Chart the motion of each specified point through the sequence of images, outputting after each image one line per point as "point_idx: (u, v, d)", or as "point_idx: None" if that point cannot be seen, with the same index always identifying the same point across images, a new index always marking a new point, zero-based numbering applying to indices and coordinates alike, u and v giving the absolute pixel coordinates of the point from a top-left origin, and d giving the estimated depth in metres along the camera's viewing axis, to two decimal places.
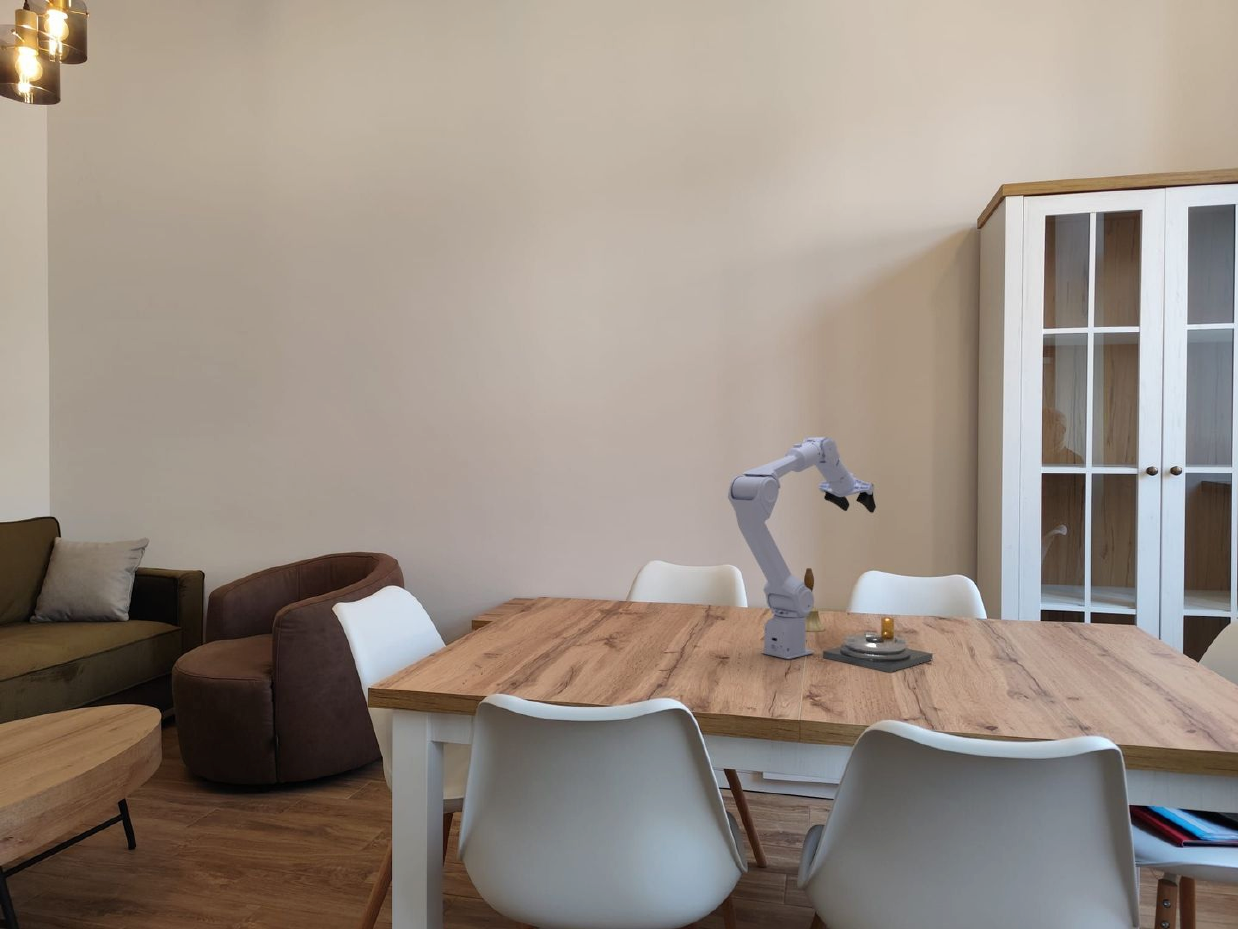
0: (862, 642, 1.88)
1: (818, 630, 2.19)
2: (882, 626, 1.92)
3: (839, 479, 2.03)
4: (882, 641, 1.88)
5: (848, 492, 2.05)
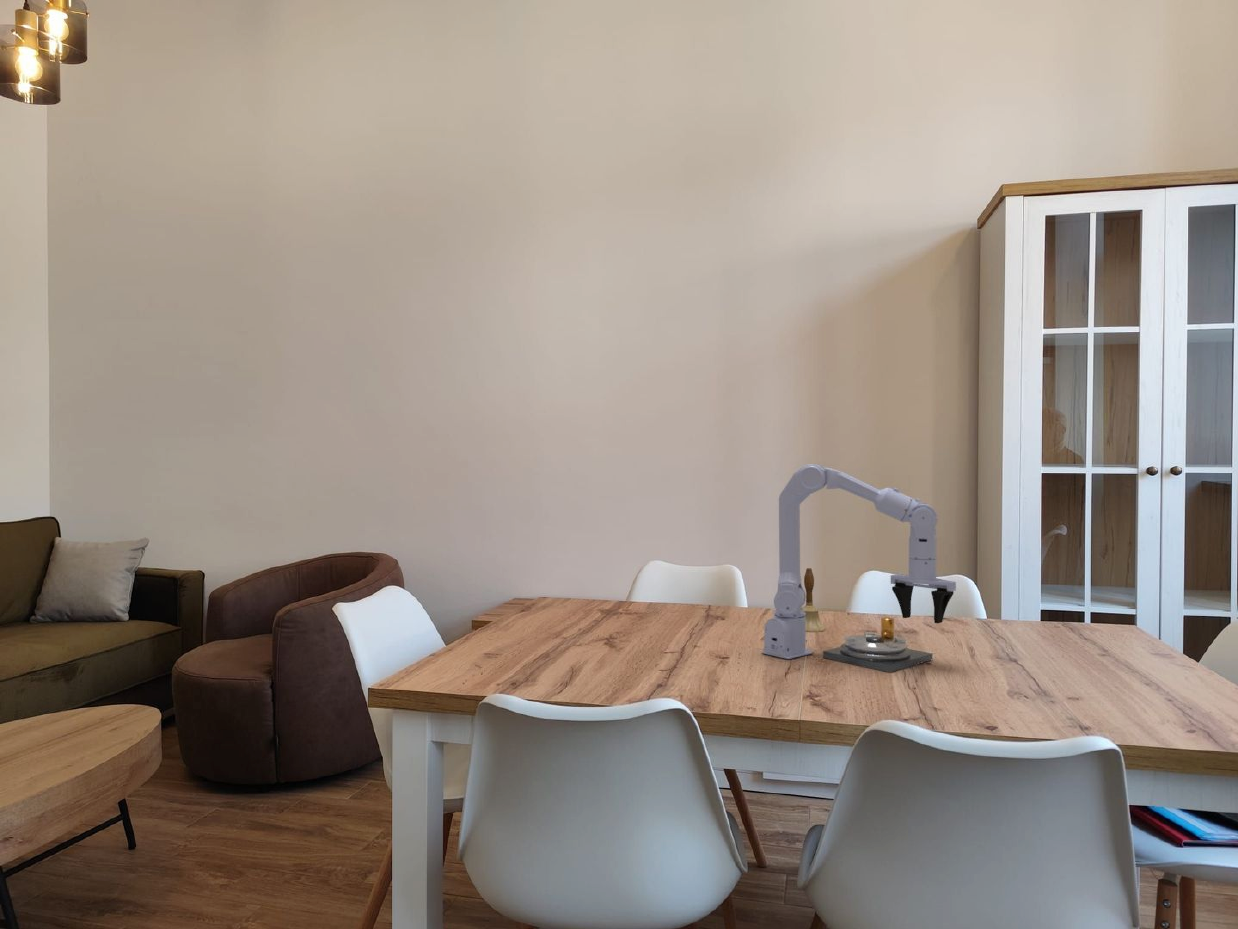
0: (862, 642, 1.88)
1: (818, 630, 2.19)
2: (882, 626, 1.92)
3: (913, 557, 1.85)
4: (882, 641, 1.88)
5: (926, 580, 1.83)
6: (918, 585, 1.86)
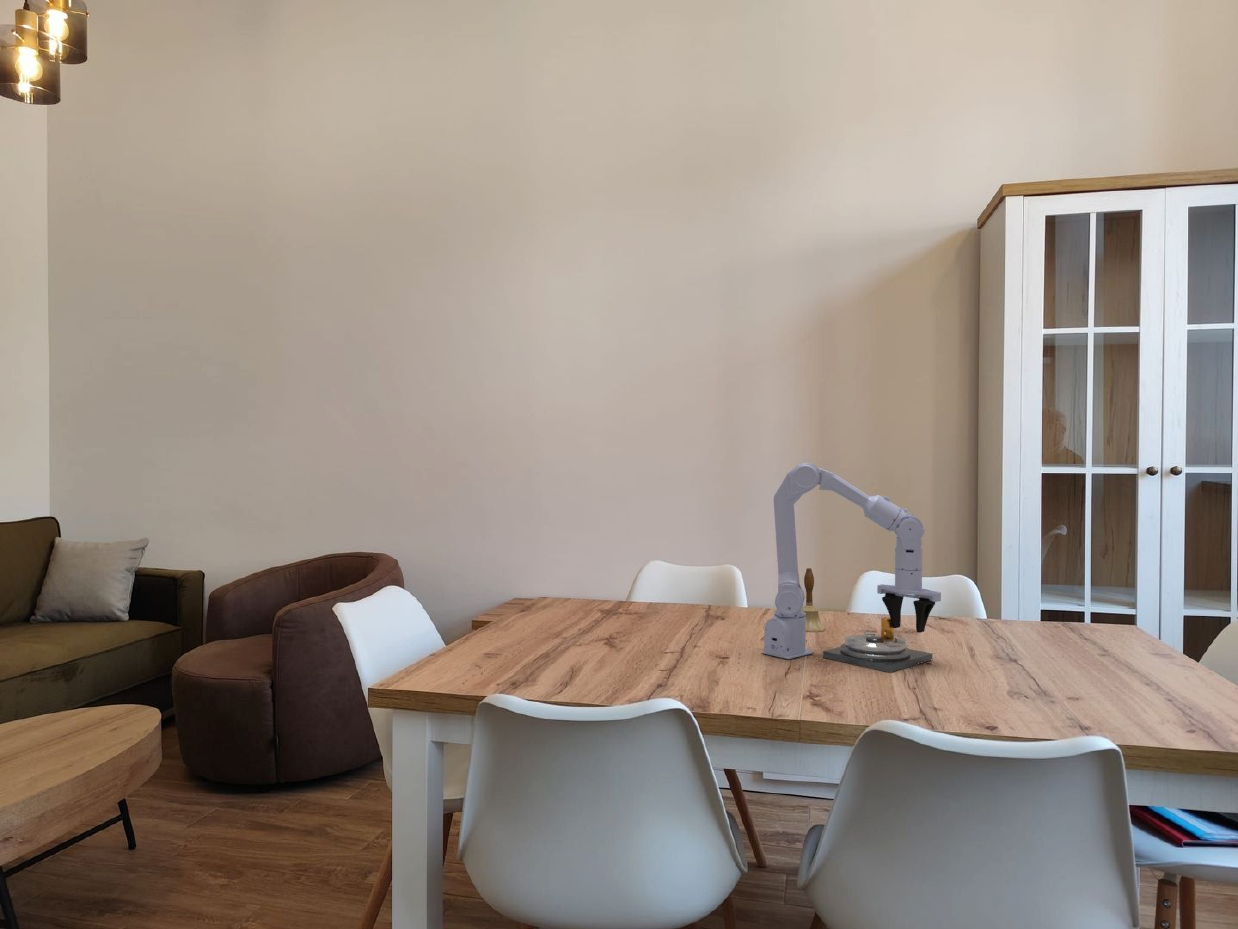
0: (862, 642, 1.88)
1: (818, 630, 2.19)
2: (882, 626, 1.92)
3: (900, 568, 1.87)
4: (882, 641, 1.88)
5: (912, 590, 1.85)
6: (904, 595, 1.89)
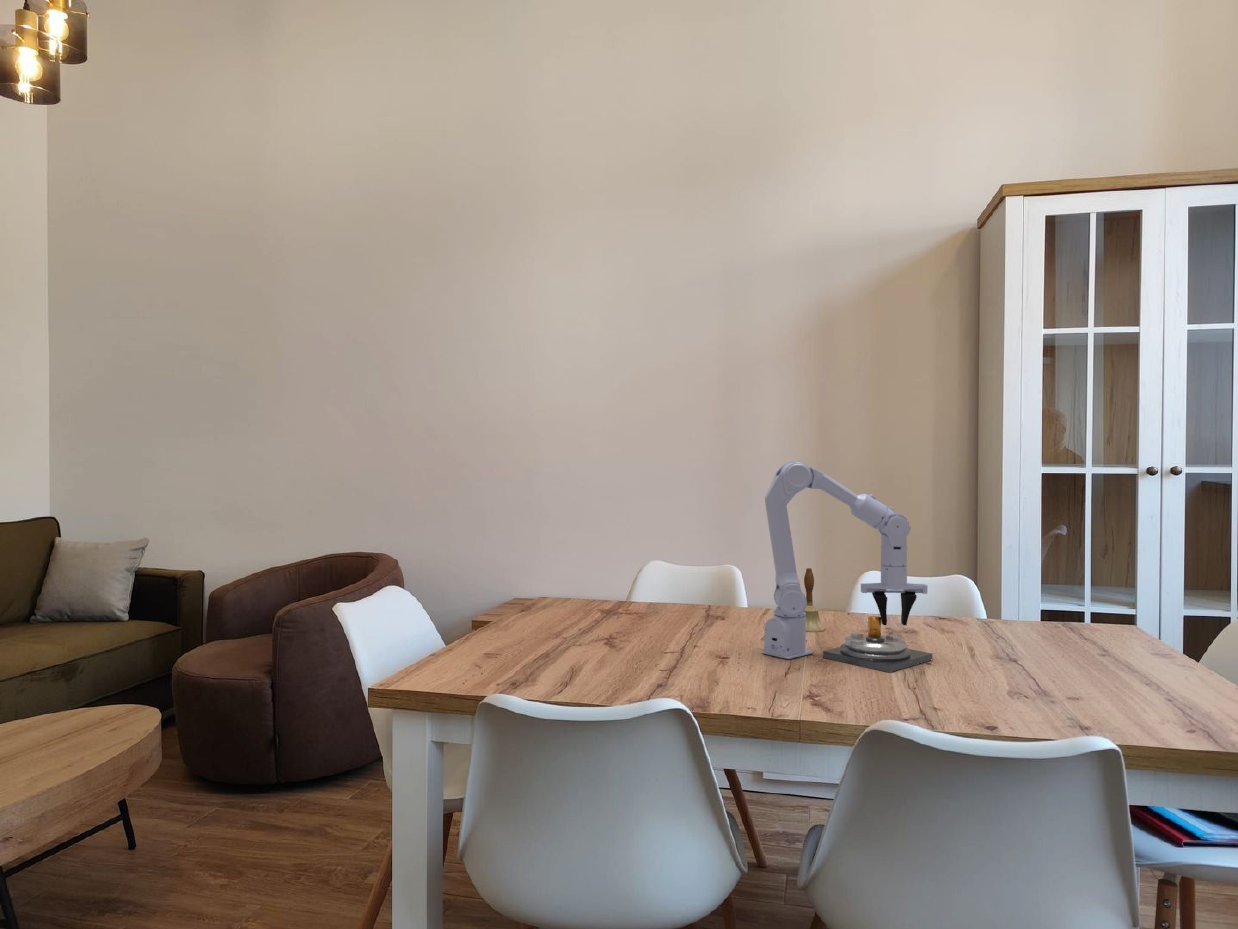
0: (871, 644, 1.86)
1: (818, 630, 2.19)
2: (872, 625, 1.93)
3: (887, 565, 1.92)
4: (884, 640, 1.89)
5: (906, 586, 1.91)
6: (890, 591, 1.93)
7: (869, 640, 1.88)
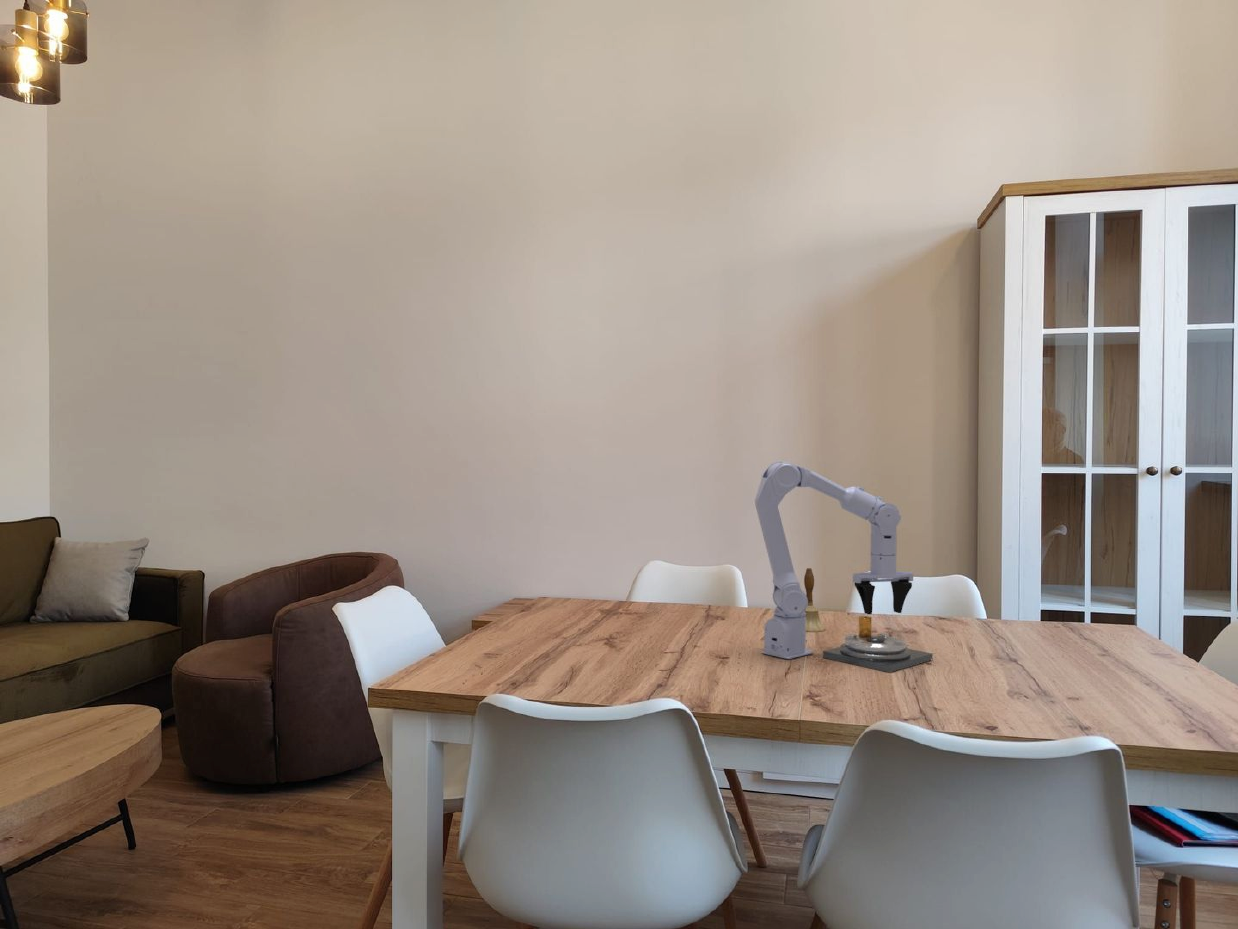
0: (878, 644, 1.86)
1: (818, 630, 2.19)
2: (865, 625, 1.93)
3: (878, 554, 1.93)
4: None
5: (897, 574, 1.94)
6: (881, 580, 1.95)
7: (873, 641, 1.88)
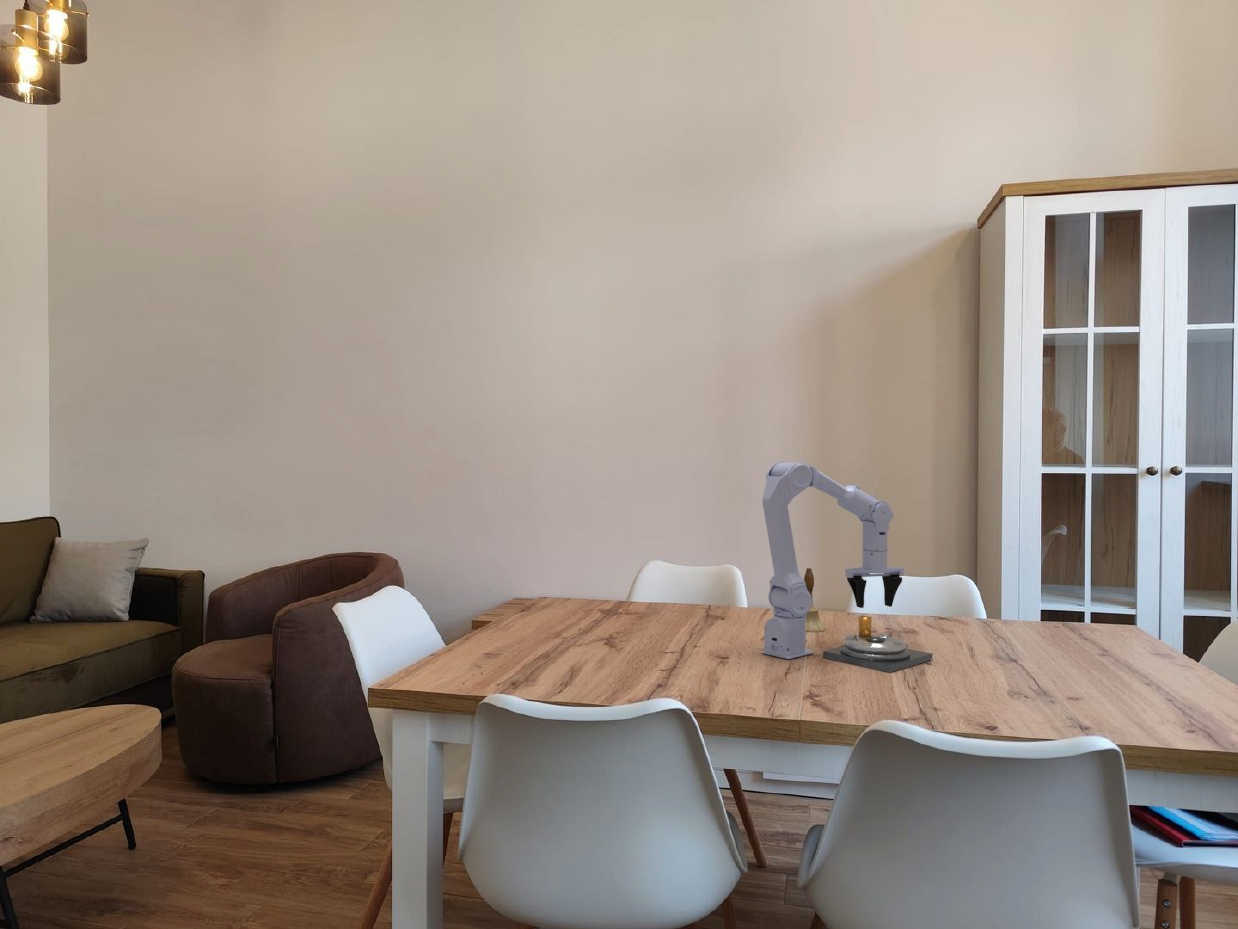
0: (878, 644, 1.86)
1: (818, 630, 2.19)
2: (865, 625, 1.93)
3: (873, 550, 2.00)
4: None
5: (887, 569, 2.02)
6: (872, 575, 2.03)
7: (873, 641, 1.88)
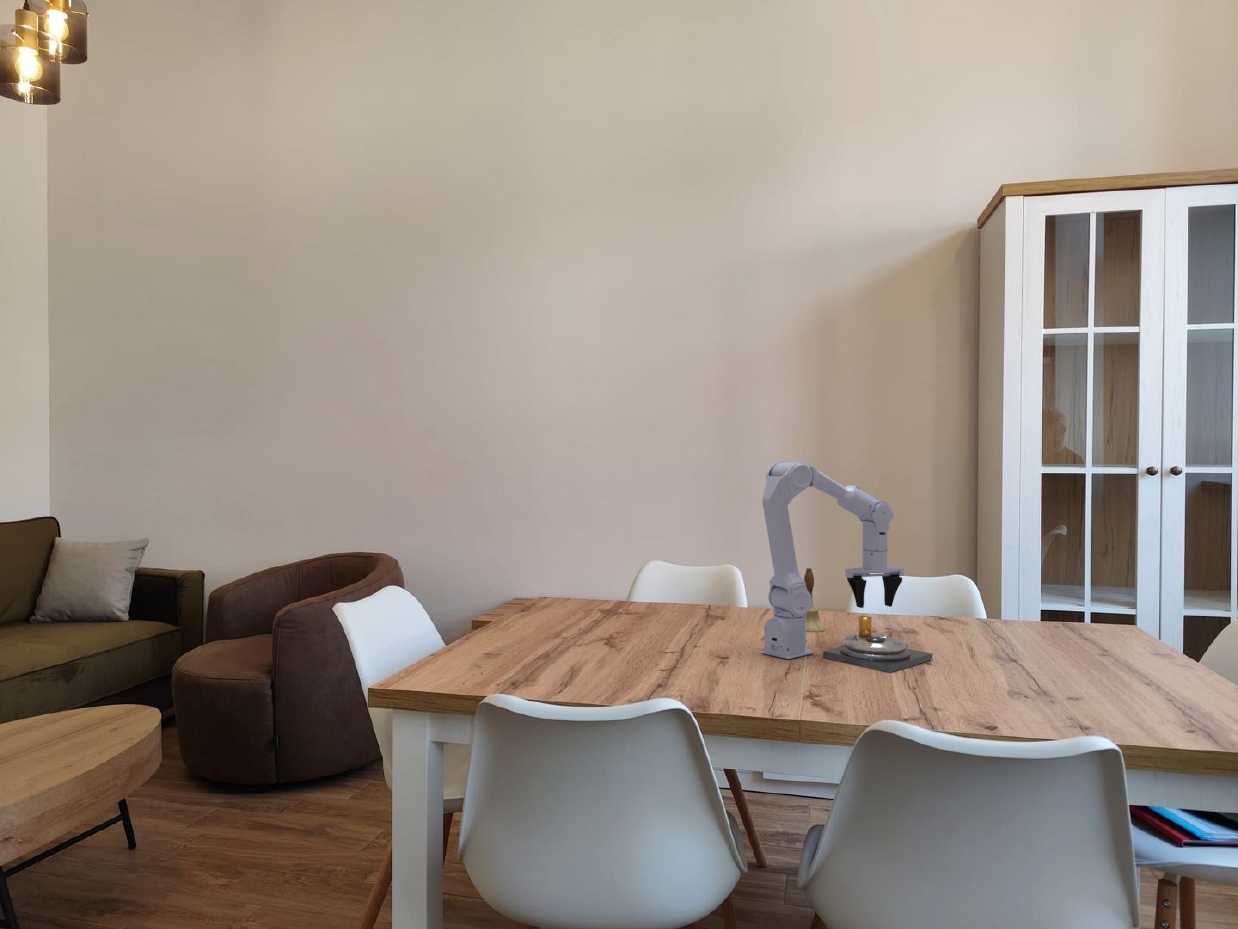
0: (878, 644, 1.86)
1: (818, 630, 2.19)
2: (865, 625, 1.93)
3: (873, 550, 2.00)
4: None
5: (887, 569, 2.02)
6: (872, 575, 2.03)
7: (873, 641, 1.88)
